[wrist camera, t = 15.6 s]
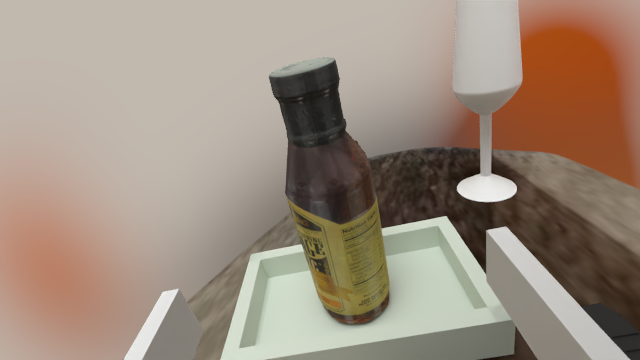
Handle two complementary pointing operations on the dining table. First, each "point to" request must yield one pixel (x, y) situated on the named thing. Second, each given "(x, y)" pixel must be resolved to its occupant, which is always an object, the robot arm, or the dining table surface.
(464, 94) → the champagne flute
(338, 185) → the sauce bottle
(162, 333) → the robot arm
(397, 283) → the tray
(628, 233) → the dining table surface
